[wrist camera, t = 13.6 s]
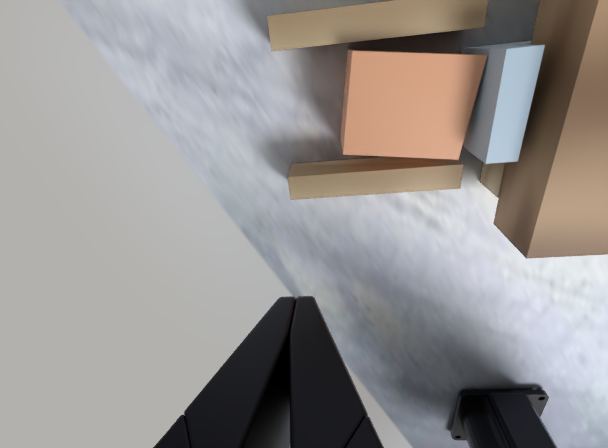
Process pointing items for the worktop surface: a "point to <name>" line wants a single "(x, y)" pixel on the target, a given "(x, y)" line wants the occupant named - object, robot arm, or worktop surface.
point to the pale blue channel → (502, 100)
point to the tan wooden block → (563, 139)
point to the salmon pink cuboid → (408, 103)
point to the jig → (370, 26)
